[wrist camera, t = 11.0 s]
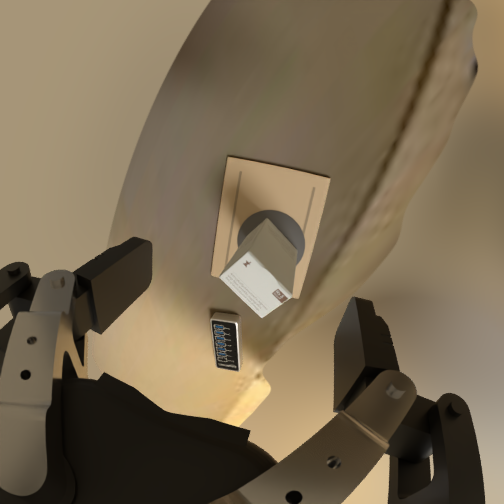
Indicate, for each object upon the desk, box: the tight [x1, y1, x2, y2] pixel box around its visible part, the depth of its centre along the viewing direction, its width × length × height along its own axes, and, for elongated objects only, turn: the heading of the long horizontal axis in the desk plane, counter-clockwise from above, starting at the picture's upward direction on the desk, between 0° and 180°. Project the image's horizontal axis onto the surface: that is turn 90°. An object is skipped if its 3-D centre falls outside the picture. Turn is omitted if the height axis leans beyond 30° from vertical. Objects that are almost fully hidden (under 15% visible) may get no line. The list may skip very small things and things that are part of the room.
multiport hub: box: [210, 312, 243, 372], centre depth 44 cm, size 4×11×2 cm, turn 1°
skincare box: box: [219, 218, 298, 318], centre depth 30 cm, size 6×4×12 cm
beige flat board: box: [211, 157, 330, 299], centre depth 36 cm, size 17×13×1 cm
